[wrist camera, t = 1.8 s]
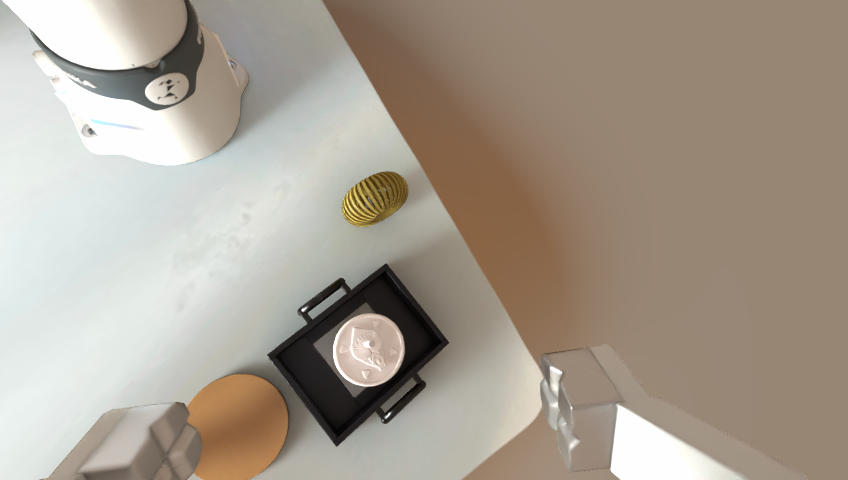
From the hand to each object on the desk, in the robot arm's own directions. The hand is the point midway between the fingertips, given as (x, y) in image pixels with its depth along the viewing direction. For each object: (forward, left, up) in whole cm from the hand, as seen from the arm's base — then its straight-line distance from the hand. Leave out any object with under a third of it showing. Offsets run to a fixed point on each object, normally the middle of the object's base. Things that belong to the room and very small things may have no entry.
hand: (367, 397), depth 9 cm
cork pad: (-1, -11, -36) cm, 38 cm away
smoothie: (+1, +3, -37) cm, 37 cm away
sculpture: (-11, +14, -37) cm, 41 cm away
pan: (+1, +3, -36) cm, 37 cm away
